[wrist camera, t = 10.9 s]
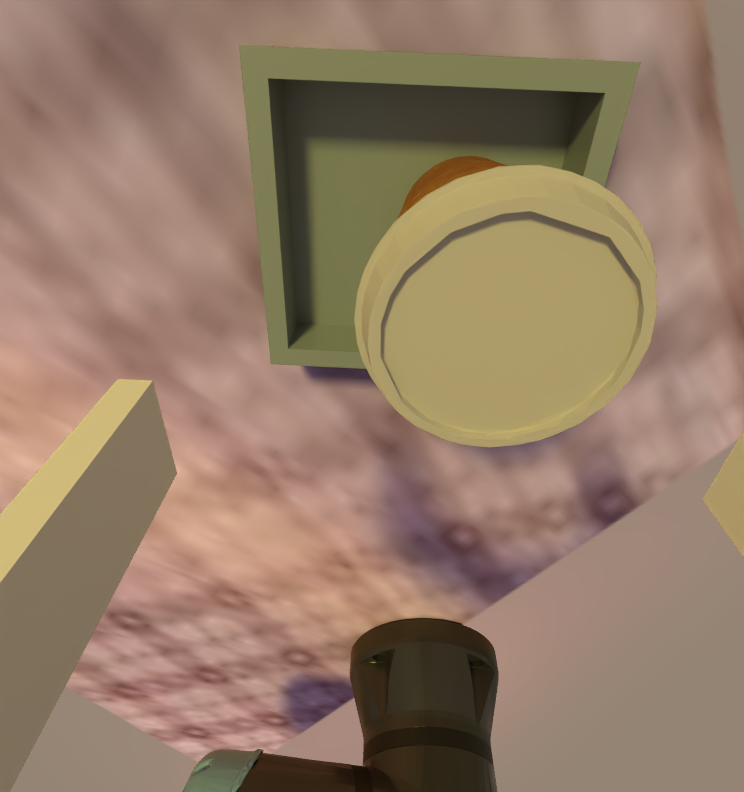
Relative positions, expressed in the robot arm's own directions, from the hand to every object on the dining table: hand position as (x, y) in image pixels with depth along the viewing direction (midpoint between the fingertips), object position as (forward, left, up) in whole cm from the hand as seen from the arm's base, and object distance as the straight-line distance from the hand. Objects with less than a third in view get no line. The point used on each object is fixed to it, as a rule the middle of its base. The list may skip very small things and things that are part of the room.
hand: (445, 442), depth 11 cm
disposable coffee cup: (0, -2, -17) cm, 17 cm away
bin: (0, 0, -18) cm, 18 cm away
